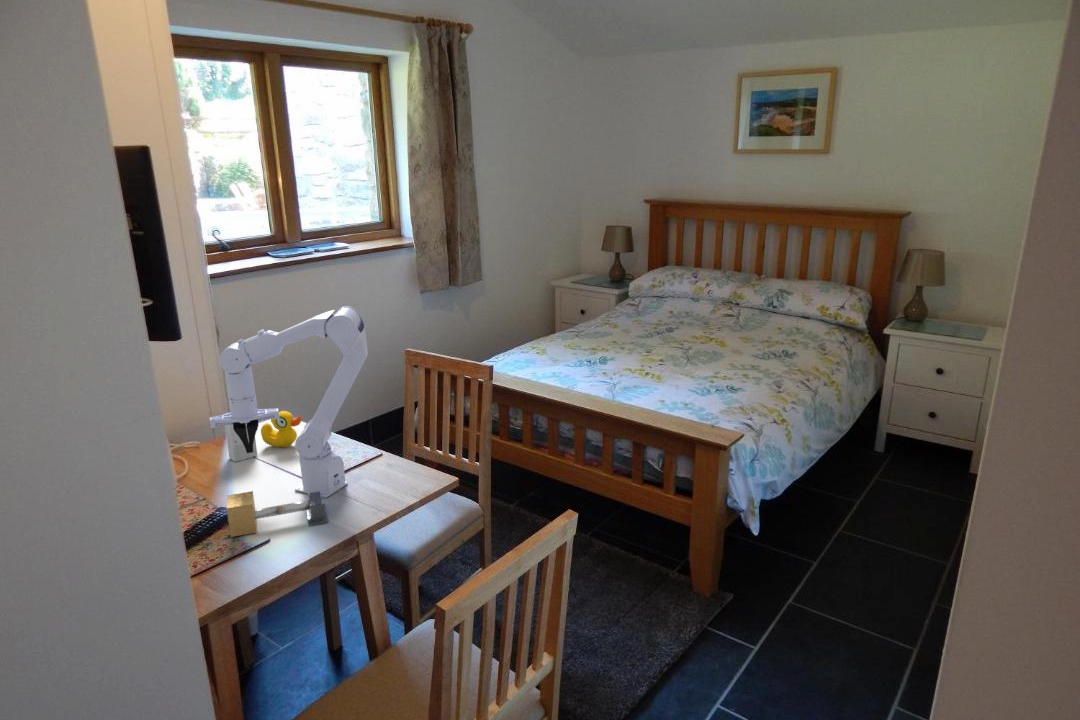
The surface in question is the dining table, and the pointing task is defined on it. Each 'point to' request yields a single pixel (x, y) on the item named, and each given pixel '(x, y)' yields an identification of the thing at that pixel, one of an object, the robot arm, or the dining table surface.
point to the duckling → (281, 430)
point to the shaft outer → (266, 512)
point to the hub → (241, 514)
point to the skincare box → (237, 445)
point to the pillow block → (316, 510)
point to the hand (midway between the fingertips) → (249, 451)
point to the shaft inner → (293, 507)
